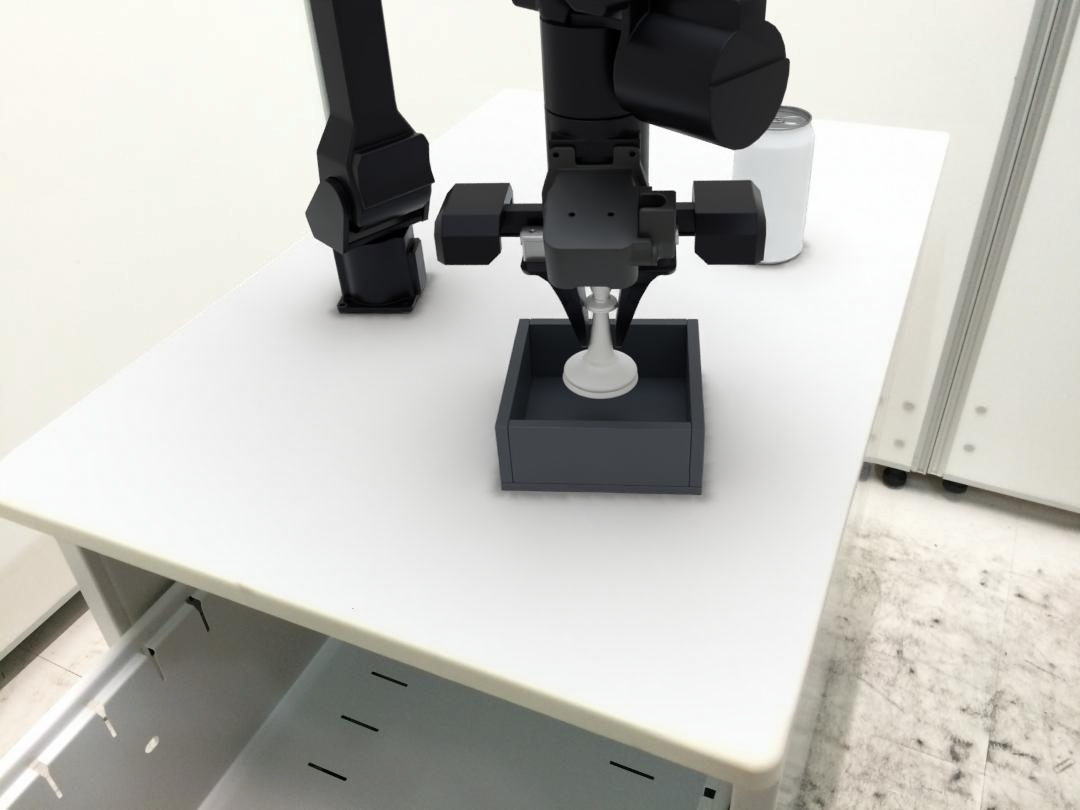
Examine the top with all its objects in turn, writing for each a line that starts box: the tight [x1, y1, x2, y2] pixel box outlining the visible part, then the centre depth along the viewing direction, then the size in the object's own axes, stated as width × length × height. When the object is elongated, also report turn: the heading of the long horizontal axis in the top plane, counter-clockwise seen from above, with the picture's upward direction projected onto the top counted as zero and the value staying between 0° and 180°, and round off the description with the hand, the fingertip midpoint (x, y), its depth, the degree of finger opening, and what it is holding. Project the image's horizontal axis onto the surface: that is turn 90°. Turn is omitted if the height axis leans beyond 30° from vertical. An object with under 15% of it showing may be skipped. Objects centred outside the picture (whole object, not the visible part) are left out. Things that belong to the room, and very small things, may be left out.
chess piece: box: [563, 287, 638, 399], centre depth 59 cm, size 5×5×10 cm
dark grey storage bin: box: [494, 317, 706, 495], centre depth 63 cm, size 13×13×5 cm
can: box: [731, 104, 816, 265], centre depth 80 cm, size 6×6×12 cm
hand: (601, 344), depth 60 cm, fingers closed on chess piece
